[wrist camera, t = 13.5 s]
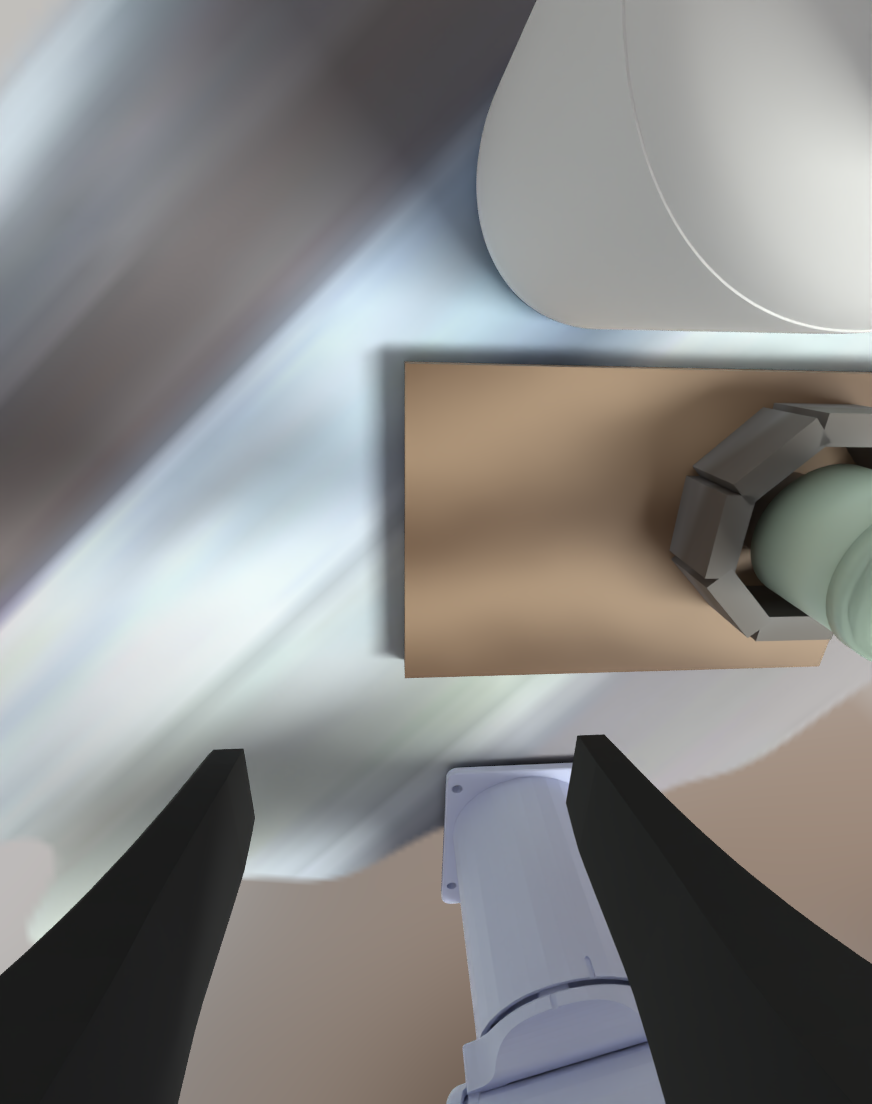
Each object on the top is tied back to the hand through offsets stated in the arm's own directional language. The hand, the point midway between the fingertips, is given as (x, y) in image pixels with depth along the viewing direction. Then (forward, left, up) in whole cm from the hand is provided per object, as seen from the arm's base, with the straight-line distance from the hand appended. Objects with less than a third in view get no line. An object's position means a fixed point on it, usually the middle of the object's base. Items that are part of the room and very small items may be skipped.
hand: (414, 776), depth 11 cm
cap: (+3, -14, -7) cm, 16 cm away
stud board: (+2, -9, -10) cm, 14 cm away
